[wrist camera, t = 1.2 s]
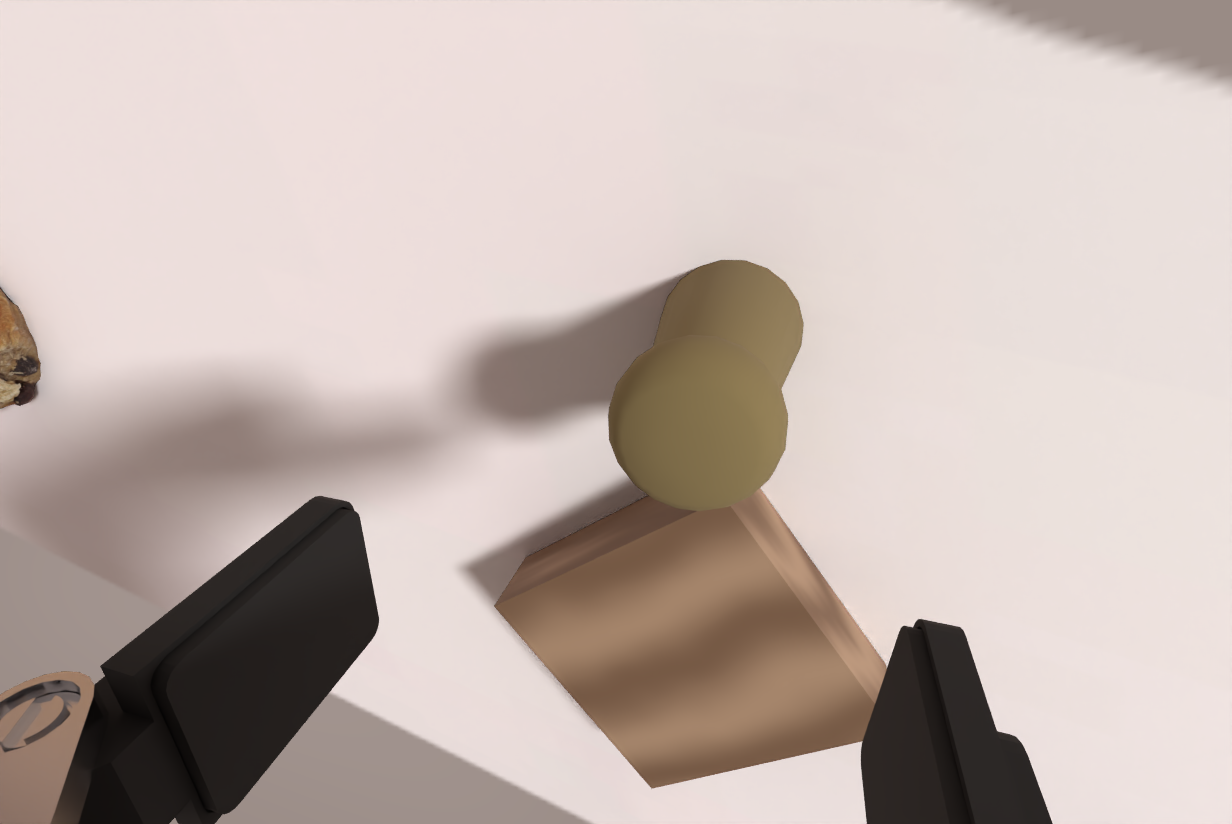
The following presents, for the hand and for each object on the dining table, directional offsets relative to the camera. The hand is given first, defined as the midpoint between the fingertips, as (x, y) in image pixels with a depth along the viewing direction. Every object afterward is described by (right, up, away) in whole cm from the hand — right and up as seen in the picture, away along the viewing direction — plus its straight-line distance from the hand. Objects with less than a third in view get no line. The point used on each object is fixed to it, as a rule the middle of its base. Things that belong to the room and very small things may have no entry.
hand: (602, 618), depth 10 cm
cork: (+5, +7, +16) cm, 18 cm away
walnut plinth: (+5, -7, +22) cm, 24 cm away
